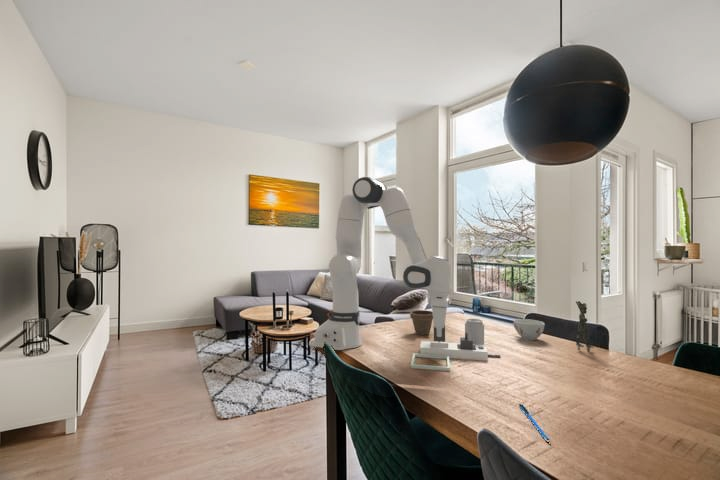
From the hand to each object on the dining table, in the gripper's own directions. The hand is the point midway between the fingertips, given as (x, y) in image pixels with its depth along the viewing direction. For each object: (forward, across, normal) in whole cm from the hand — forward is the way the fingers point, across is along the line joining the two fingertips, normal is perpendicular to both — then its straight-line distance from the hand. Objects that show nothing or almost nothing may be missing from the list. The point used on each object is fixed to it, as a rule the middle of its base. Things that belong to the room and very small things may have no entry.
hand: (439, 334), depth 136 cm
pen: (+9, +47, +22) cm, 53 cm away
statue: (+8, -19, +57) cm, 61 cm away
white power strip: (+8, 0, +8) cm, 11 cm away
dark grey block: (+2, 0, 0) cm, 2 cm away
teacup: (+8, -35, +39) cm, 53 cm away
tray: (+8, +12, -3) cm, 15 cm away
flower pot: (+8, -33, -8) cm, 35 cm away
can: (+8, -12, +14) cm, 20 cm away
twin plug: (+7, 0, +10) cm, 12 cm away
